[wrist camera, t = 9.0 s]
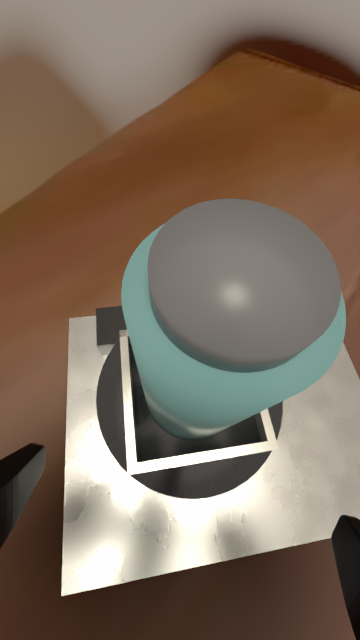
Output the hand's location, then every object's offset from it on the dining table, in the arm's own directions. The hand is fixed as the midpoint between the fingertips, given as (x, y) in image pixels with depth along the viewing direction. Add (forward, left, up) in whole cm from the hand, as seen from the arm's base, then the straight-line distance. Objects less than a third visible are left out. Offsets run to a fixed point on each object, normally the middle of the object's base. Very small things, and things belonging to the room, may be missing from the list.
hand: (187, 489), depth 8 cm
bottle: (+4, -2, -8) cm, 10 cm away
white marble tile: (+4, -4, -12) cm, 13 cm away
